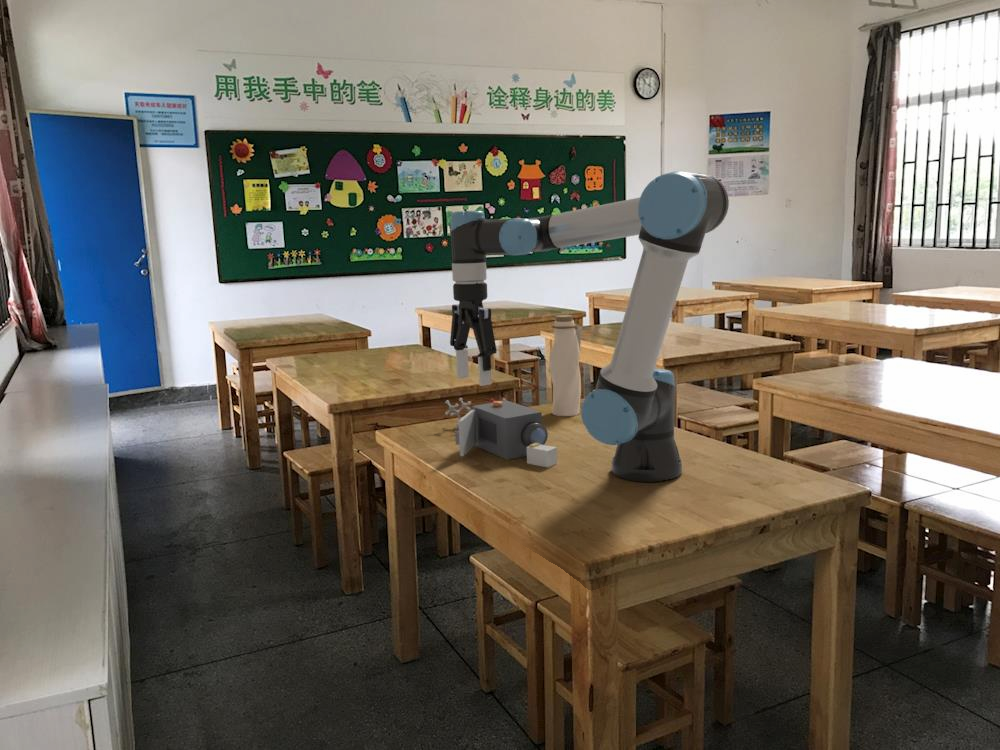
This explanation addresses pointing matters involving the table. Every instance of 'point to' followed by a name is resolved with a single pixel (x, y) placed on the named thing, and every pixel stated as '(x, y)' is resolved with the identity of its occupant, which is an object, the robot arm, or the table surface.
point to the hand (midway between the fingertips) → (473, 381)
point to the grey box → (508, 428)
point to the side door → (466, 432)
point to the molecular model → (464, 405)
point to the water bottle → (565, 366)
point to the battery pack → (541, 455)
